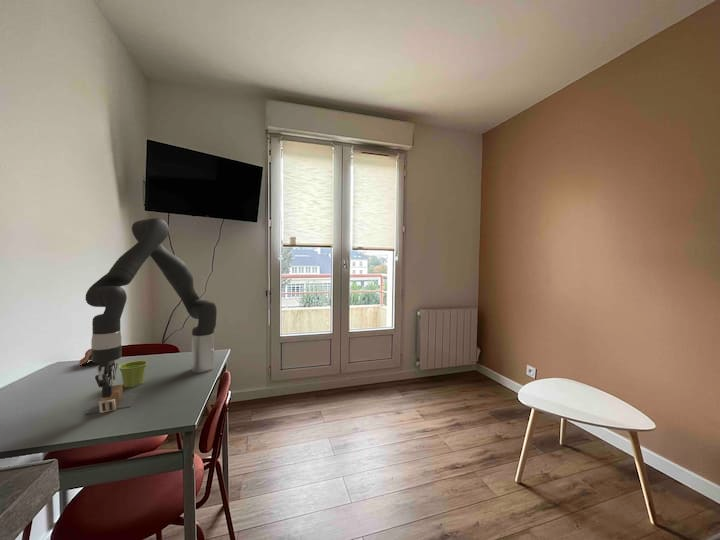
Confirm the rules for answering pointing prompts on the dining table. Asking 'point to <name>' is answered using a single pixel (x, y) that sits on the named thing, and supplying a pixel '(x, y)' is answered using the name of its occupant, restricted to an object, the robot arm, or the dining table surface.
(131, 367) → the plant pot
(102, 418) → the dining table surface
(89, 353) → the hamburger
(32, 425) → the dining table surface
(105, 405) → the tan wooden block
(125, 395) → the mat
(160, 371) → the dining table surface
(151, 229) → the robot arm
